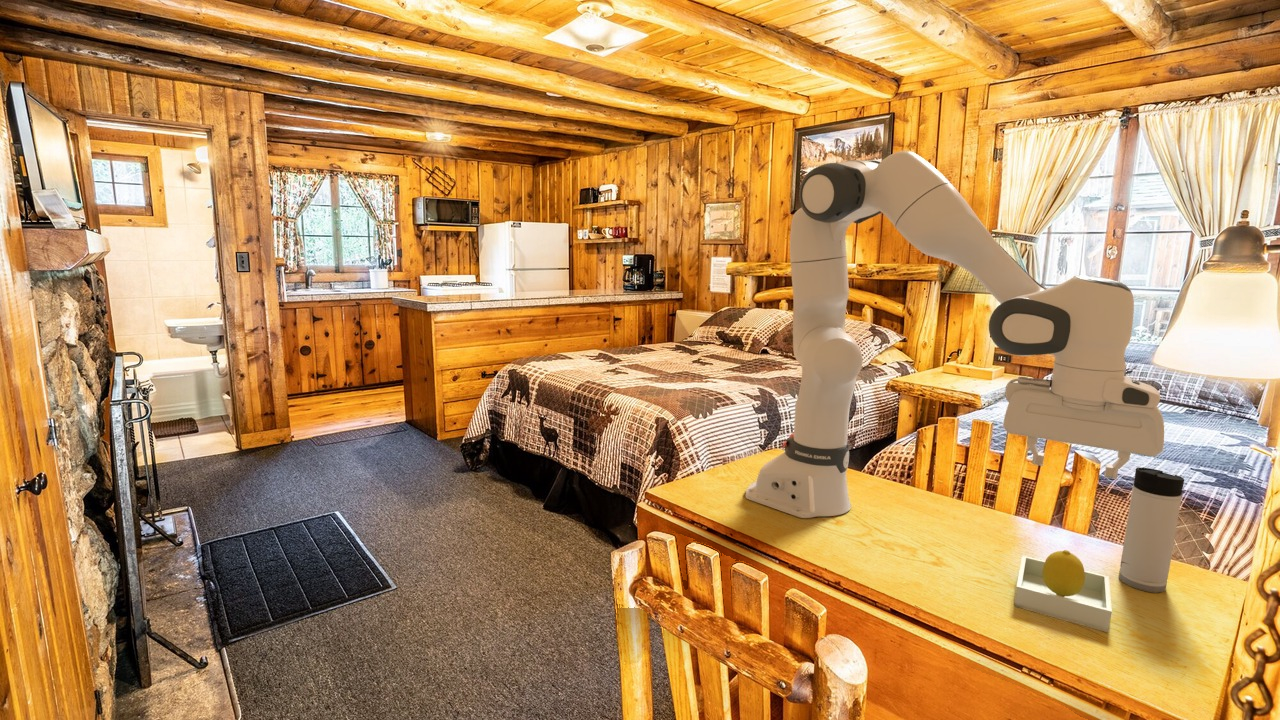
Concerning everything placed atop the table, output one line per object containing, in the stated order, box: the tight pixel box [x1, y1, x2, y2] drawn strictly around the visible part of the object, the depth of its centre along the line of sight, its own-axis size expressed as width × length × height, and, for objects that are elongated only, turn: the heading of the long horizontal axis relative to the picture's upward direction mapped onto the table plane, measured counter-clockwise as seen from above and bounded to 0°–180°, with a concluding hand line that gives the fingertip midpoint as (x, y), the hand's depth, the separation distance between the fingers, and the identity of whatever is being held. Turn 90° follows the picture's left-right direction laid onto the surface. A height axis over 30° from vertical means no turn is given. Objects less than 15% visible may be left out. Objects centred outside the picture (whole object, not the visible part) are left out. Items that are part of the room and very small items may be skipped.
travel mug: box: [1118, 467, 1185, 593], centre depth 104 cm, size 6×7×20 cm
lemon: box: [1043, 549, 1085, 597], centre depth 100 cm, size 6×6×8 cm
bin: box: [1013, 554, 1113, 634], centre depth 100 cm, size 12×12×3 cm
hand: (1072, 470), depth 98 cm, fingers open, 8 cm apart
